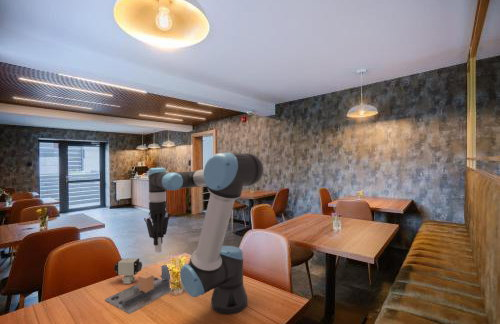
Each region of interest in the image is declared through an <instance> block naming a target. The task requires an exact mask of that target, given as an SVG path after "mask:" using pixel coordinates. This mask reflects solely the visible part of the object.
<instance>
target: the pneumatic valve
mask: <svg viewBox="0 0 500 324" xmlns="http://www.w3.org/2000/svg"><path fill="white" fill-rule="evenodd" d="M142 268H143V262H142V261H141V260H140V258H134V257H127V258H121V259H119V260H118V261H116V263H115V264H114V267H113V269H114V272H116V275H117V276H123V277H122V279H121V280H122V284H124V285H129V284H130V285H131V284H132V283H133V282H134V281H135V280H136V277H135V276H136V275H137V274H138V273H139V272H141V271H142Z"/></svg>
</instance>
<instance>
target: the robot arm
mask: <svg viewBox="0 0 500 324" xmlns="http://www.w3.org/2000/svg"><path fill="white" fill-rule="evenodd" d="M204 165H205V166H204V168H203V169H198V170H194V171H193V170H192V171H176V172H167V169H166V168H165V167H151V168H149V169H148V201H149V202H148V210H149V213H148V216H147V217H144V219H143V221H144V222H145V224H146V228H147V233H148V235H149V238H151V239H153V246H154V252H155V253H162V244H163V238H164V237H165V235H167V231H168V226H169V225H168V224H169V219H170V217H171V213H168V212H167V210H166V209H167V201H166V200H167V190H168V191H177V190H180V189H188V188H189V189H191V188H201V187H205V186H206V187H207V191H208V193H209V199H208V203H207V207H206V210H205V215H204V218H203V222H202V223H203V224H202V227H201V231H200V236H199V240H198V243H197V247H196V250H194V251H193V252H192V253H191V254H190V258H189V262H188V263H185V264H184V265H182V266H181V268H180V271H179V273H180V274H179V277H180V281H181V284H182V287H183V289H184V291H185V292H186V293H187V294H188V295H189V296H190V297H192V298H197V297H200V296H203V295H205V294H206V293H208V292H210V291H212V290H213V291H212V295H211V298H210V299H211V300H210V306H211V309H212V310H213V311H215V313H218V314H222V315H233V314H237V313H240V312H242V311H244V310H245V309H246V308H247V306H248V302H249V301H248V300H249V299H248V294H247V291H246V289H245V286H244V255H243V251H242V249H241V248H240V247H237V246H234V245H224V241H225V238H226V235H227V230H228V227H229V223H230V219H231V215H232V211H233V209H234V204H235V201H236V200H238V199H240V198H241V196H242V192H243V190H244V189H243V188H244V187H249V186H254V185H256V184H257V183H259V182H260V181H261V179H262V178H263V175H264V170H265V169H264V167H265V166H264V164H263V161H262V160H261V158H259V157H258V156H256V154H252V153H244V152H242V153H237V152H235V153H233V152H222V153H215V154H213V155H212V156H210V158H208V160H207V161H206V163H205V164H204Z"/></svg>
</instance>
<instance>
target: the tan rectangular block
mask: <svg viewBox="0 0 500 324" xmlns="http://www.w3.org/2000/svg"><path fill="white" fill-rule="evenodd" d="M154 277H155V274H152V273H149V272H145V273H142V274H140V275H138V284H139V290H141V291H143V292H145V293H146V292H148V291H150V290H152V289H154Z"/></svg>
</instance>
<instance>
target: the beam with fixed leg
mask: <svg viewBox="0 0 500 324" xmlns="http://www.w3.org/2000/svg"><path fill="white" fill-rule="evenodd" d="M160 279H162V281H160V282H158V283H156V284H154V289H152V290H150V291H148V292H146V293H145V292H143V291H140V292H138V293H136V294H134V295H132V296H130V297H128V298H126V299H124V300H122V306H124V307H126V306H128V305H129V304H131V303H133V302H135V301H137V300H139V299H141V298H143V297H145V296H147V295H149V294H150V293H152V292H154V291H156V290H158V289H160V288H162V287H164V286H166V285H168V284H169V282H170V281H171V280H170V274H169V270H168V267H167V264H164V265H161V275H160Z"/></svg>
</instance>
